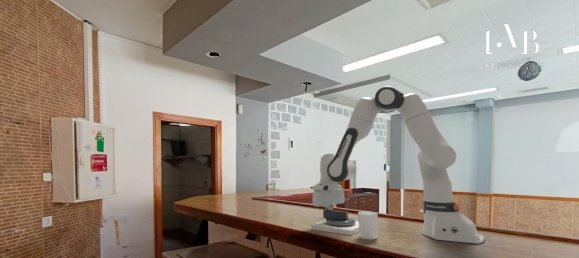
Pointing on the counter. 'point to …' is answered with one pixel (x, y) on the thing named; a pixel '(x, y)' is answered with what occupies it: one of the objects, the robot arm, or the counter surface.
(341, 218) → the dial
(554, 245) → the counter surface
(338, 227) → the dial panel
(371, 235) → the white cup
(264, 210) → the counter surface
